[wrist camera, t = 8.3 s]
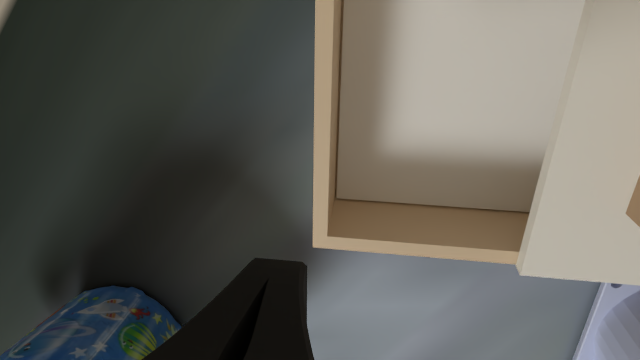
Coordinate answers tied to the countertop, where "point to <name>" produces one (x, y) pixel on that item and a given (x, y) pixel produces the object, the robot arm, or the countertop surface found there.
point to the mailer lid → (592, 158)
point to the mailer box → (434, 122)
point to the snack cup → (99, 328)
